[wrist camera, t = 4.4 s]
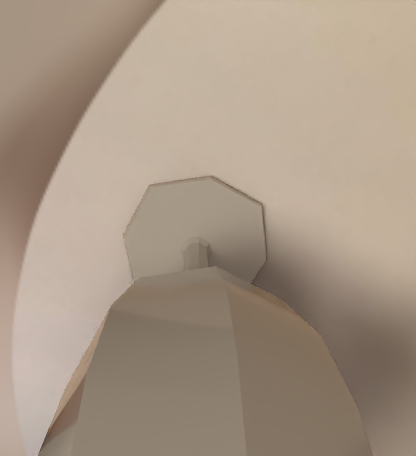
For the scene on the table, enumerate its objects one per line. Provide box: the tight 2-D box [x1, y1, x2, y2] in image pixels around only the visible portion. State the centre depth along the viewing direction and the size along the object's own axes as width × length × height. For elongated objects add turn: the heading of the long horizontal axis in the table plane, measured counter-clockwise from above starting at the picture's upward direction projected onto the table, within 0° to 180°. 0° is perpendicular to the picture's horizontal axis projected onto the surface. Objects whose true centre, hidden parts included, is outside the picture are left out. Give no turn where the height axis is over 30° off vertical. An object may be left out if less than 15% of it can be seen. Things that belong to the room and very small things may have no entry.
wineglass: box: [38, 176, 372, 456], centre depth 14 cm, size 9×9×21 cm
